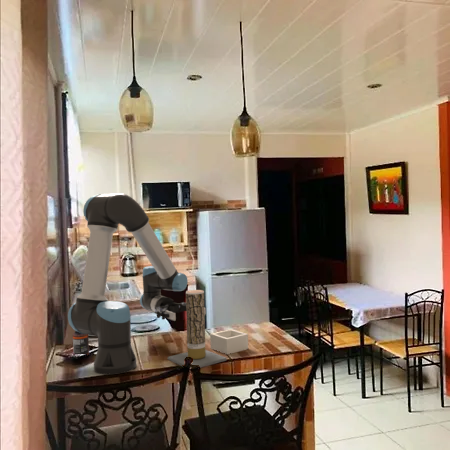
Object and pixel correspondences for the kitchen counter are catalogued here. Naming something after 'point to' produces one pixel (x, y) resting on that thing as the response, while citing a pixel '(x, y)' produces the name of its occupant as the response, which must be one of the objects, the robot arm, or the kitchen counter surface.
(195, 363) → the mat
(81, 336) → the supplement bottle
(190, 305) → the bark pattern cylinder
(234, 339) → the box
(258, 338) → the kitchen counter surface
